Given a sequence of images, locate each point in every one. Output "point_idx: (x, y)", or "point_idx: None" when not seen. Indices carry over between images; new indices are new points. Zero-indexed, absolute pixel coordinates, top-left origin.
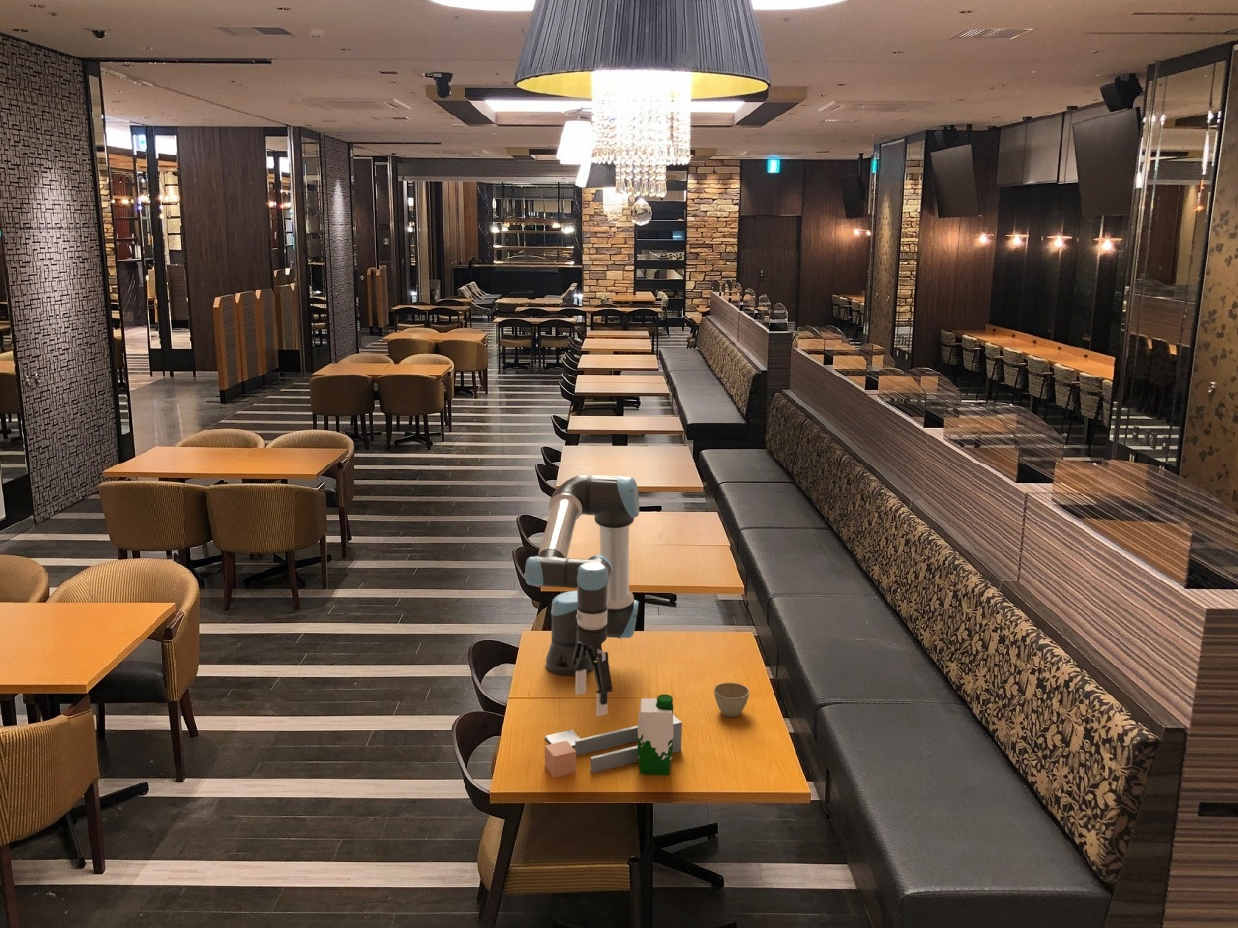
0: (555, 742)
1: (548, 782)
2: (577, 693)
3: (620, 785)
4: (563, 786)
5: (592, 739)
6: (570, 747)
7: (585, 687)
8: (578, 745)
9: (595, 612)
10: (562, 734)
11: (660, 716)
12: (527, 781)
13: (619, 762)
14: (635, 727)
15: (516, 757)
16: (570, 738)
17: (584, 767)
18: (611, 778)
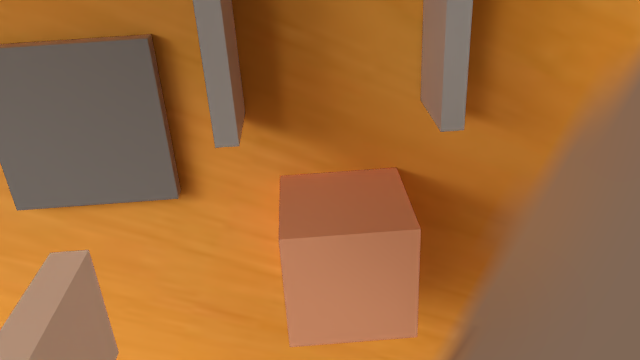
0: (102, 182)
1: (421, 291)
2: (111, 358)
3: (623, 5)
4: (480, 249)
5: (226, 34)
6: (365, 242)
7: (62, 313)
8: (240, 123)
9: None
10: (16, 122)
11: None
12: (376, 353)
13: None
14: None
15: (176, 347)
16: (73, 95)
17: (374, 115)
18: (538, 24)
